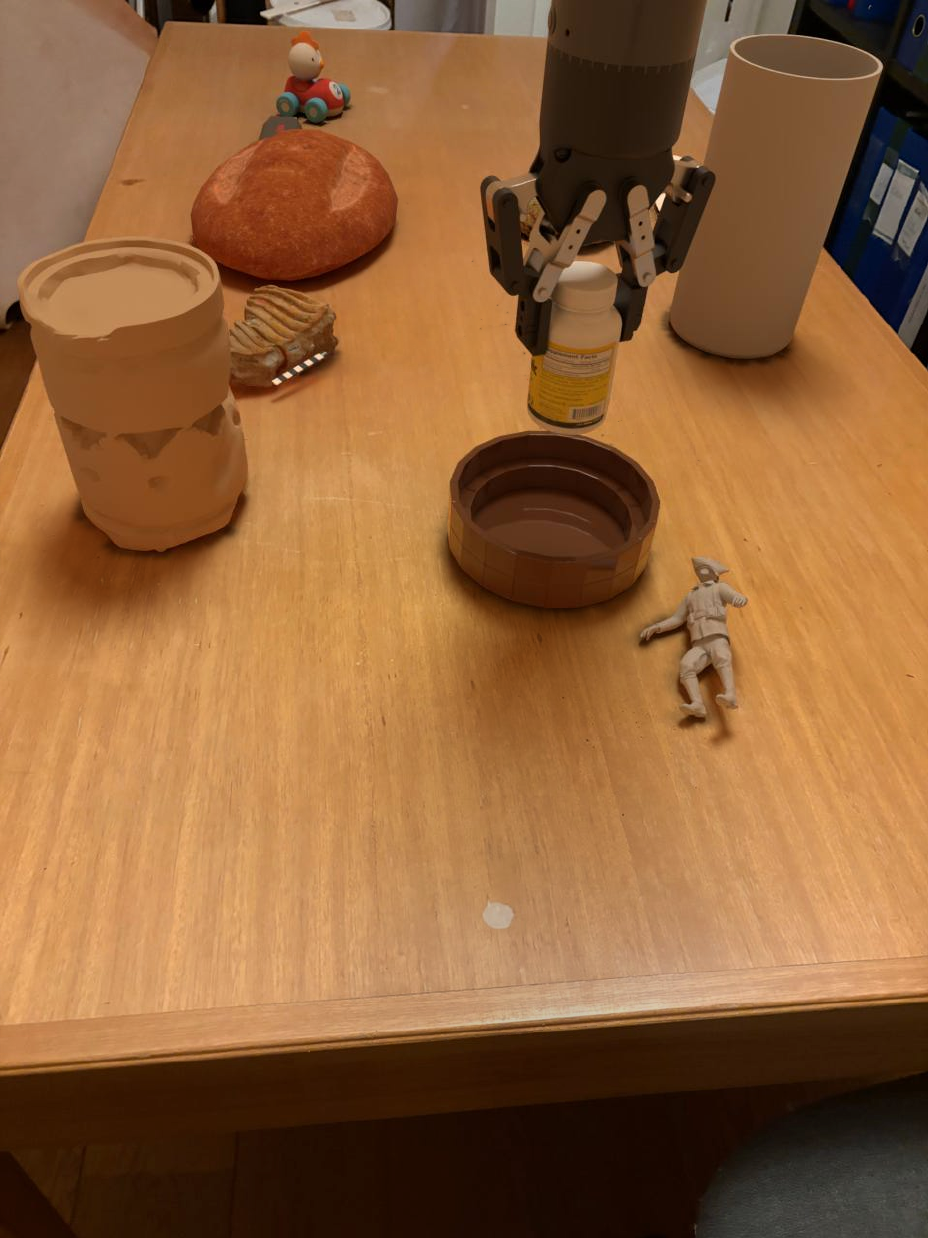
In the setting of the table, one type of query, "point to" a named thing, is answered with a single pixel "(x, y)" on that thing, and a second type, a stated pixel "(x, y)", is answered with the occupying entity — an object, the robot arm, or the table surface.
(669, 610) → the table surface
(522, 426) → the table surface
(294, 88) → the toy car
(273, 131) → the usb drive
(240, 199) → the bread
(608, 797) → the table surface
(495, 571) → the bowl
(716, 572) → the soldier figure
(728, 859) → the table surface
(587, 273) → the supplement bottle
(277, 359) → the fossil
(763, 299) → the cylinder vase
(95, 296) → the container
